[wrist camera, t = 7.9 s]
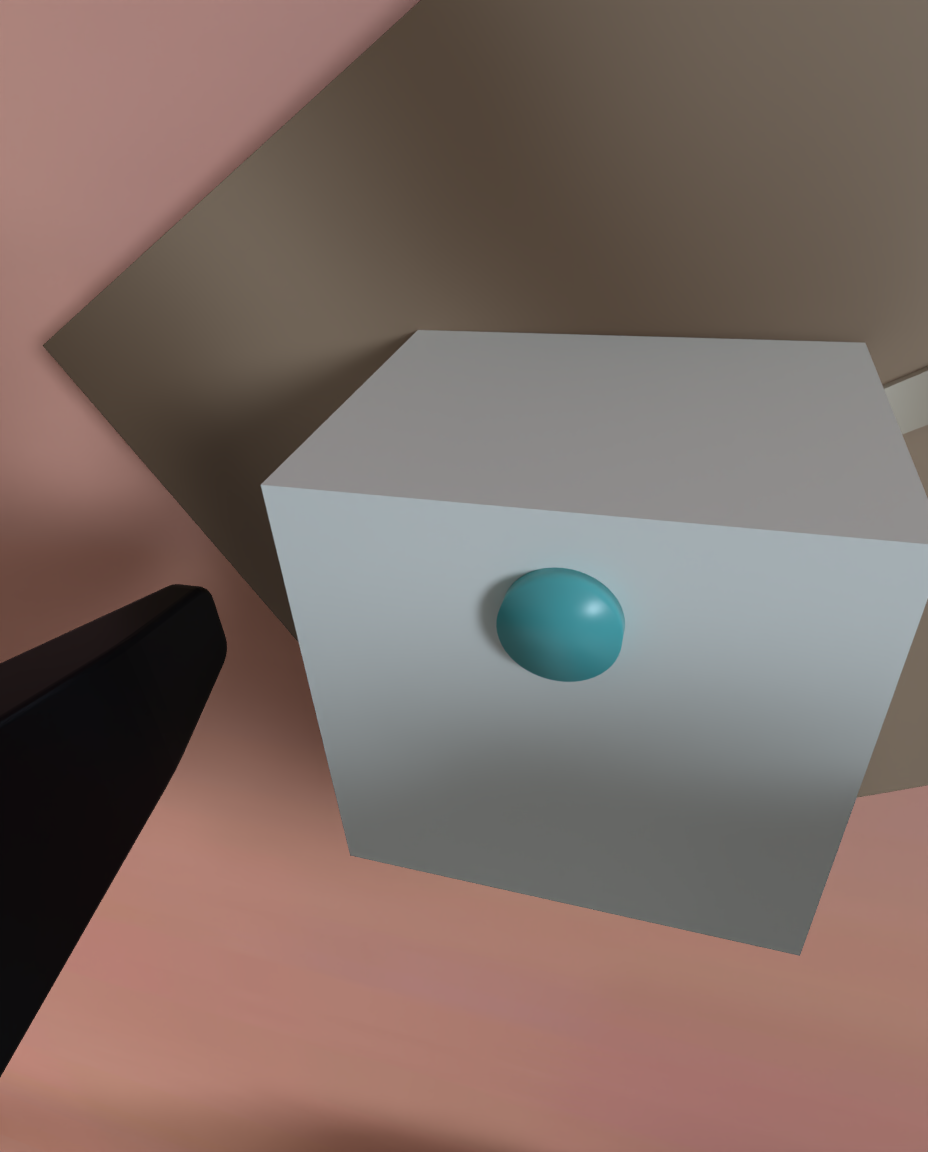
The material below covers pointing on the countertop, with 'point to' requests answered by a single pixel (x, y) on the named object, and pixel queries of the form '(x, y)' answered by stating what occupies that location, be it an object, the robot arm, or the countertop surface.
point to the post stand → (536, 235)
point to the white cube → (607, 614)
